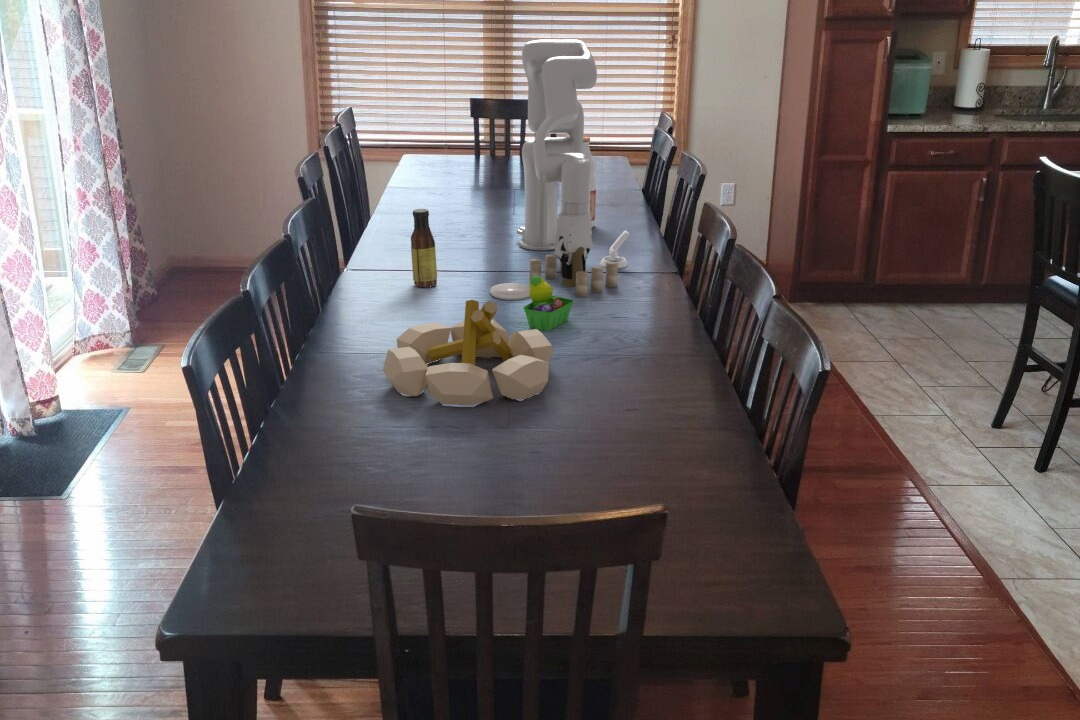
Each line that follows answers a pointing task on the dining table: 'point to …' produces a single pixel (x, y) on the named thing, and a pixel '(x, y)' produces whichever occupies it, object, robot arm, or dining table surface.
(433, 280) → the sauce bottle
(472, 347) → the campfire
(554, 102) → the robot arm
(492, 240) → the dining table surface
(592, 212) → the fruit juice
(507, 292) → the white round plate
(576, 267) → the cork
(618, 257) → the white plastic lever piece
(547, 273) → the posts
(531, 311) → the fruit basket
